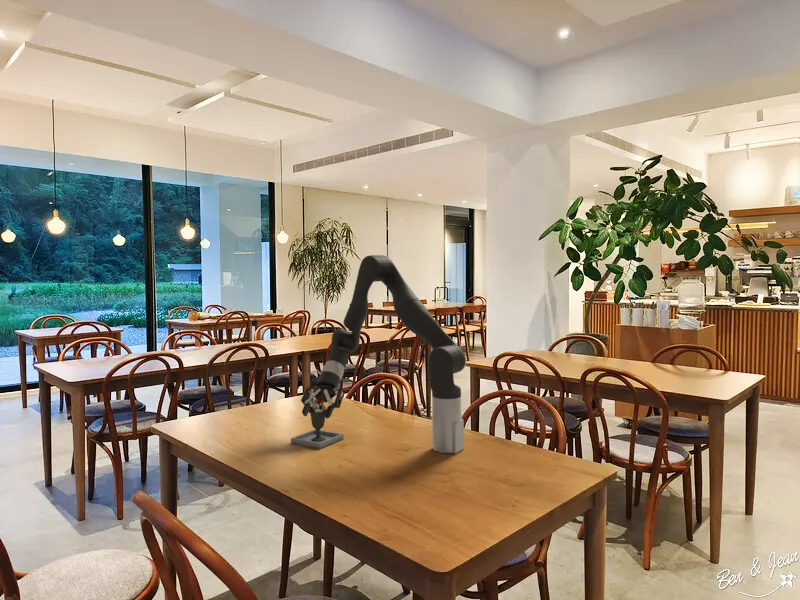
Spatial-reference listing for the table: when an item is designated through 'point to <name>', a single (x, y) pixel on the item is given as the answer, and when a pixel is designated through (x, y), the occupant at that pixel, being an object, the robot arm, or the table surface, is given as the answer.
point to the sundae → (317, 418)
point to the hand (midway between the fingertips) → (315, 416)
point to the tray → (307, 442)
